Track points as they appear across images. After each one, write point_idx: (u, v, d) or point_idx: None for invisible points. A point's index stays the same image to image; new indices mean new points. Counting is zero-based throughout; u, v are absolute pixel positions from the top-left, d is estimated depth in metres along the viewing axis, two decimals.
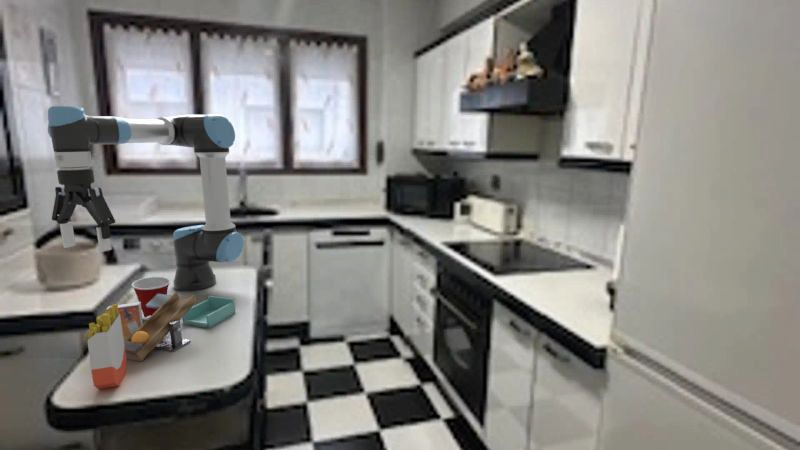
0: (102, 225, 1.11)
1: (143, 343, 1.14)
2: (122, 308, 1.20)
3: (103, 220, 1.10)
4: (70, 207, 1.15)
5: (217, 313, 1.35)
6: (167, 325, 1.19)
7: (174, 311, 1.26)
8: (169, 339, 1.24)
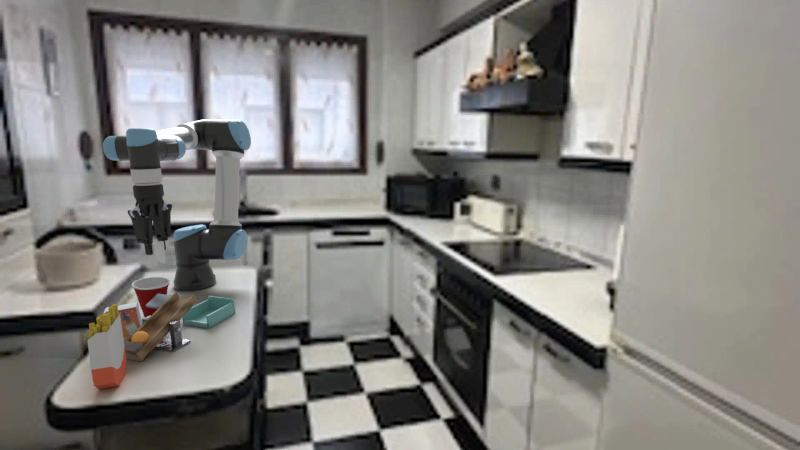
0: (144, 243, 1.25)
1: (143, 343, 1.14)
2: (120, 311, 1.19)
3: None
4: (155, 221, 1.27)
5: (217, 313, 1.35)
6: (167, 325, 1.19)
7: (174, 311, 1.26)
8: (169, 339, 1.24)
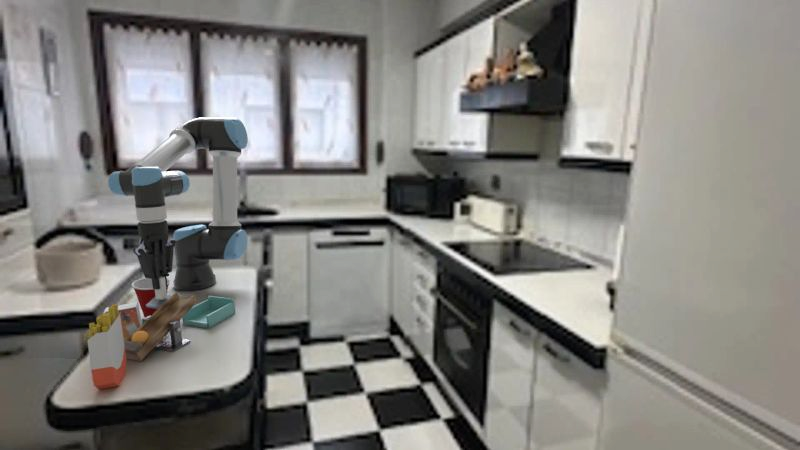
0: None
1: (143, 343, 1.14)
2: (120, 311, 1.19)
3: None
4: (158, 256, 1.29)
5: (217, 313, 1.35)
6: (167, 325, 1.19)
7: (174, 311, 1.26)
8: (169, 339, 1.24)
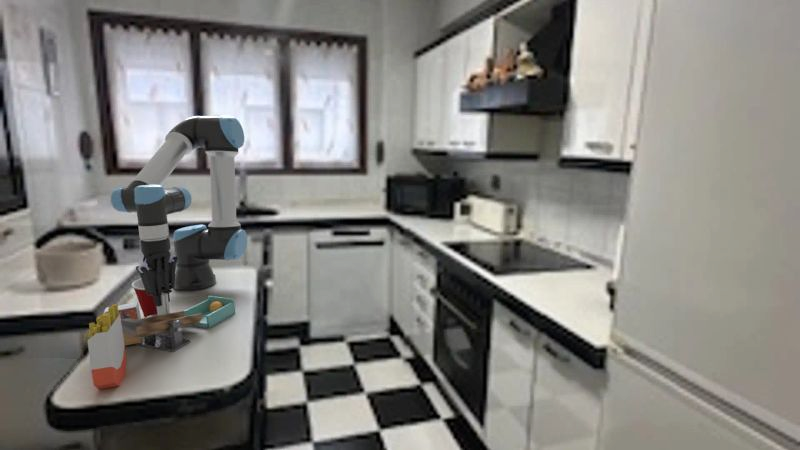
0: None
1: (220, 305, 1.41)
2: (120, 311, 1.19)
3: None
4: (160, 273, 1.30)
5: (217, 313, 1.35)
6: (170, 322, 1.20)
7: None
8: (169, 339, 1.24)
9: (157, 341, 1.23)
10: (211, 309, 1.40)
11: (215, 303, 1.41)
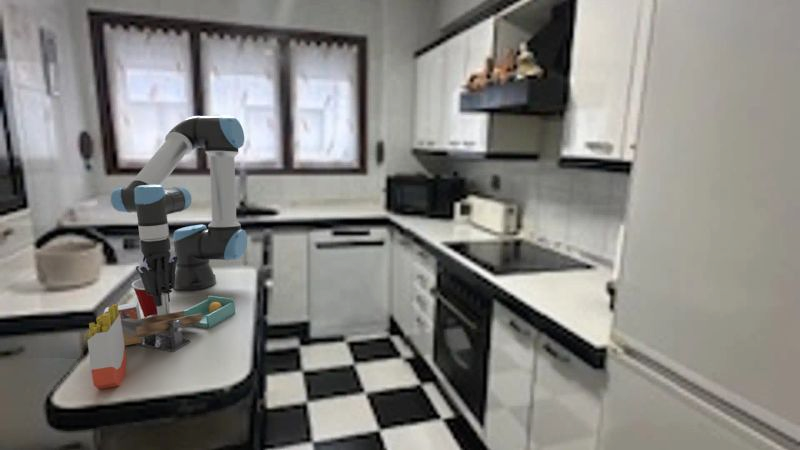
0: None
1: (218, 306, 1.41)
2: (120, 311, 1.19)
3: None
4: (160, 273, 1.30)
5: (217, 313, 1.35)
6: (170, 322, 1.20)
7: None
8: (169, 339, 1.24)
9: (157, 341, 1.23)
10: (210, 311, 1.40)
11: (213, 304, 1.40)
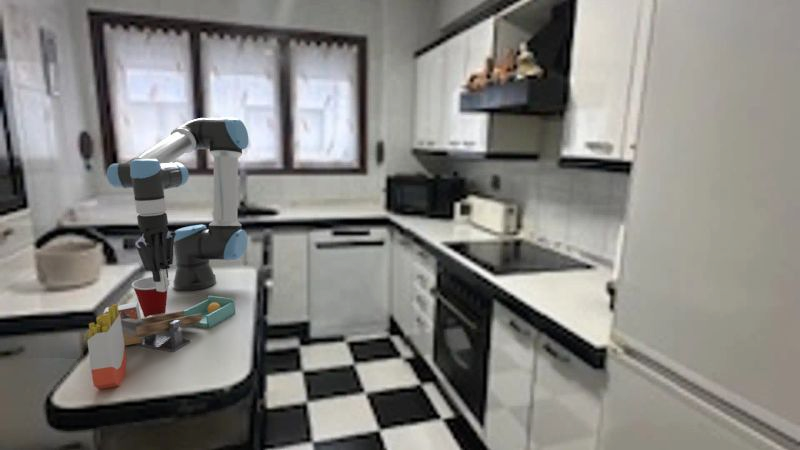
0: (152, 270, 1.28)
1: (217, 307, 1.40)
2: (120, 311, 1.19)
3: None
4: (158, 249, 1.29)
5: (217, 313, 1.35)
6: (170, 322, 1.20)
7: None
8: (169, 339, 1.24)
9: (157, 341, 1.23)
10: (209, 313, 1.40)
11: (211, 307, 1.39)
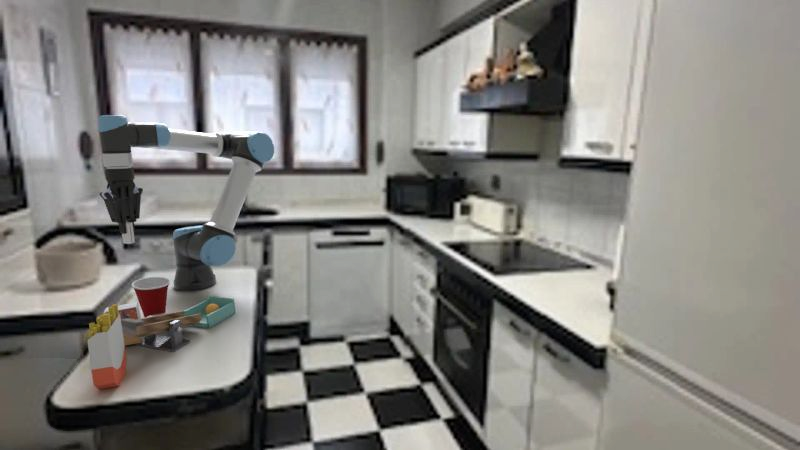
0: (118, 222, 1.34)
1: (214, 309, 1.39)
2: (120, 311, 1.19)
3: None
4: (125, 202, 1.35)
5: (217, 313, 1.35)
6: (170, 322, 1.20)
7: None
8: (169, 339, 1.24)
9: (157, 341, 1.23)
10: None
11: (209, 310, 1.38)
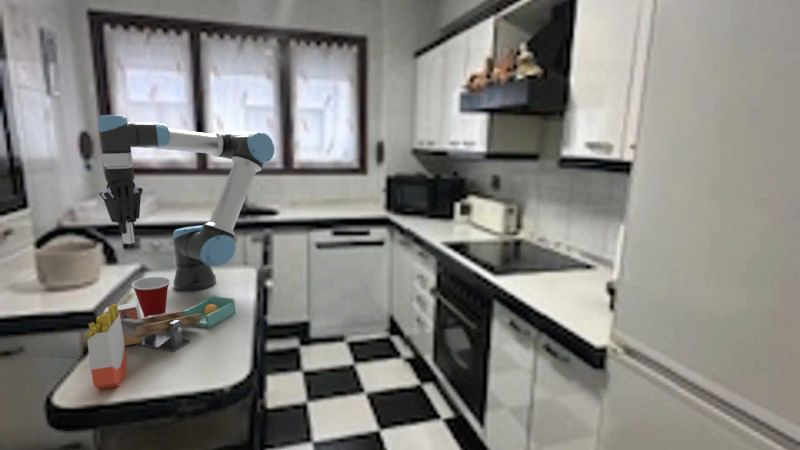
0: (118, 222, 1.34)
1: (213, 311, 1.38)
2: (120, 311, 1.19)
3: None
4: (125, 202, 1.35)
5: (217, 313, 1.35)
6: (170, 322, 1.20)
7: None
8: (169, 339, 1.24)
9: (157, 341, 1.23)
10: None
11: (208, 312, 1.38)
